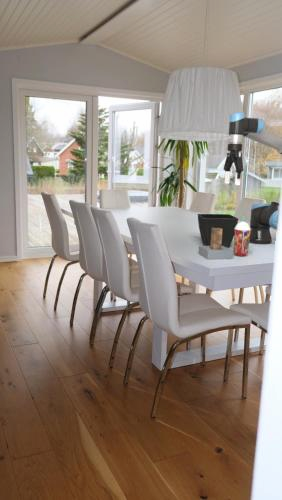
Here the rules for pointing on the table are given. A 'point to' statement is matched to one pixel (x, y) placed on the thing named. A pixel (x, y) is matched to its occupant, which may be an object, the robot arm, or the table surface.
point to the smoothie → (241, 238)
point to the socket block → (215, 253)
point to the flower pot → (217, 221)
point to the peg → (216, 239)
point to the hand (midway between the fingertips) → (231, 184)
